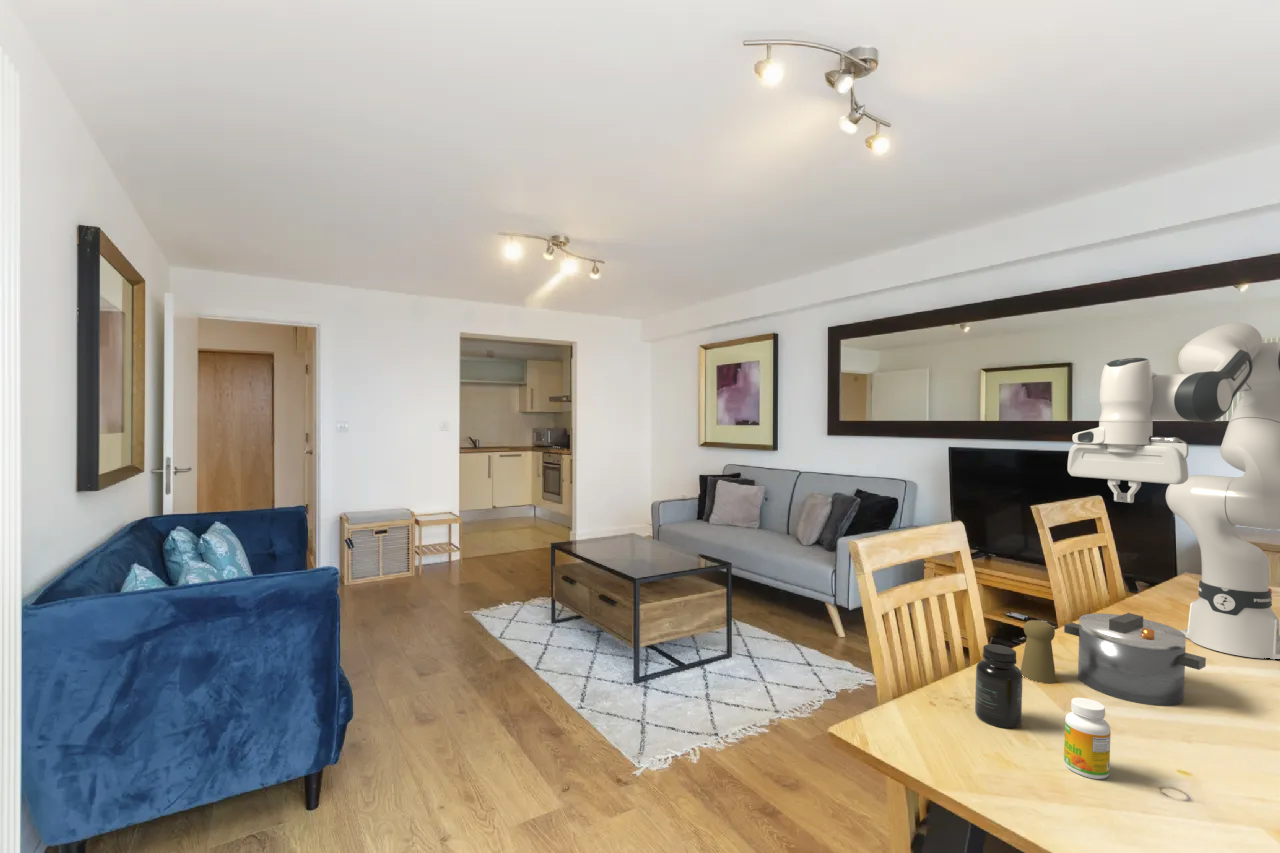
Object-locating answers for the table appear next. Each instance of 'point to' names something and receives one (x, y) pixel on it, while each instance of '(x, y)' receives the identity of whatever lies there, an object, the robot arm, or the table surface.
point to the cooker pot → (1133, 669)
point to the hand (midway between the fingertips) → (1123, 502)
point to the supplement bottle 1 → (998, 687)
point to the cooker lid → (1132, 631)
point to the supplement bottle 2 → (1087, 739)
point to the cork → (1038, 652)
